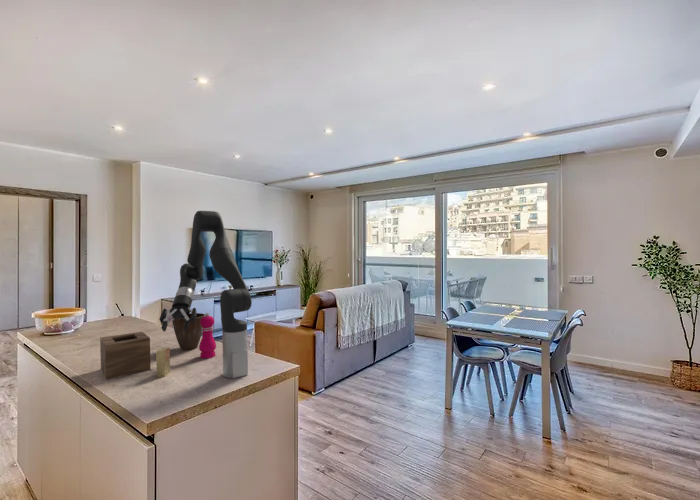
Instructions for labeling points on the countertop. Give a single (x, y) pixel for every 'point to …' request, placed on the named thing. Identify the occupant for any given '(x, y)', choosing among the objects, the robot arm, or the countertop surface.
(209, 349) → the pepper mill
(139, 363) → the wooden box
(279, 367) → the countertop surface
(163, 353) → the beige rectangular block
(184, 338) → the plant pot
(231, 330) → the robot arm
